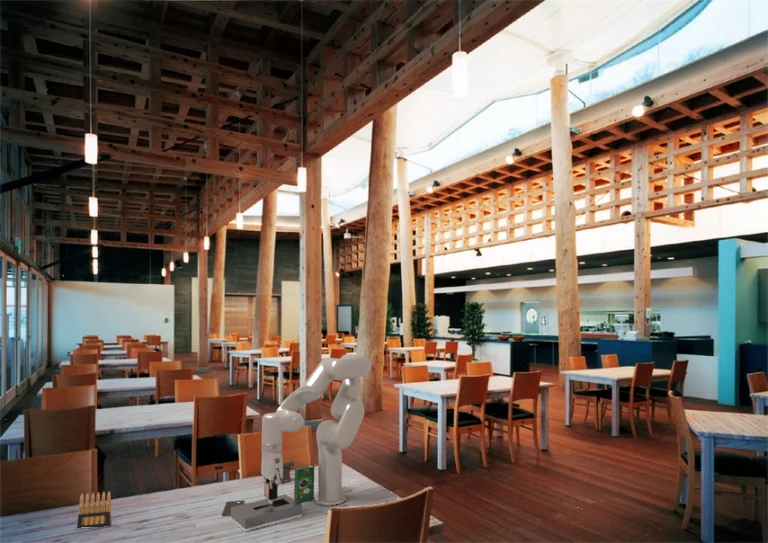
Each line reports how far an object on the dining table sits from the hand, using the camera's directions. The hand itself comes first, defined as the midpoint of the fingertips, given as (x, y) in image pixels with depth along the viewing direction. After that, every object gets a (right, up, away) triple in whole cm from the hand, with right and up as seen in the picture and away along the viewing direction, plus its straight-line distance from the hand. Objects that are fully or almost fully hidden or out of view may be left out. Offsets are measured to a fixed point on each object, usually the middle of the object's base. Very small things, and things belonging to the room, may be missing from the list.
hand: (270, 497), depth 193 cm
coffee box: (+10, -9, +17) cm, 21 cm away
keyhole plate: (-1, -7, -2) cm, 7 cm away
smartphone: (-16, -9, +8) cm, 20 cm away
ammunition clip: (-62, -7, -8) cm, 62 cm away
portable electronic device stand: (-4, -11, +41) cm, 43 cm away
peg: (0, -6, -1) cm, 6 cm away
